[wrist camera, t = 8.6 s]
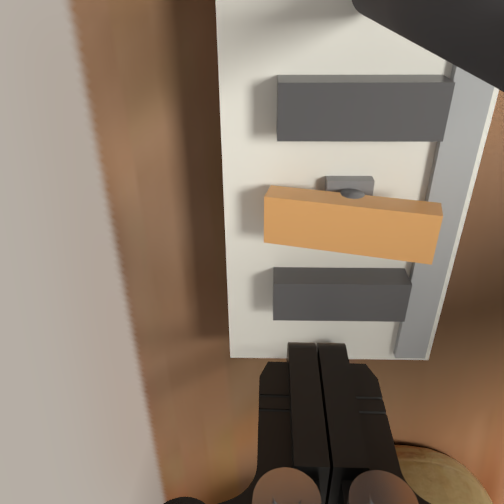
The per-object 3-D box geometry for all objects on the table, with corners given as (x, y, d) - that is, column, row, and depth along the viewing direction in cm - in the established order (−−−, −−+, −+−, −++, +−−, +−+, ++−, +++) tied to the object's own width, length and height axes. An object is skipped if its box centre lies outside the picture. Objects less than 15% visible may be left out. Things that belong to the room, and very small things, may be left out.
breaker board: (220, -43, 19) (209, -44, 15) (497, -45, 19) (556, -46, 15) (233, 322, 29) (228, 376, 25) (413, 324, 29) (436, 379, 25)
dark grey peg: (349, -38, 16) (564, -35, 5) (396, -38, 16) (732, -34, 5) (345, 14, 17) (516, 129, 5) (389, 14, 17) (658, 129, 5)
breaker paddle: (273, 180, 21) (264, 196, 19) (440, 197, 19) (443, 216, 18) (272, 224, 22) (263, 242, 21) (429, 243, 20) (431, 264, 19)
